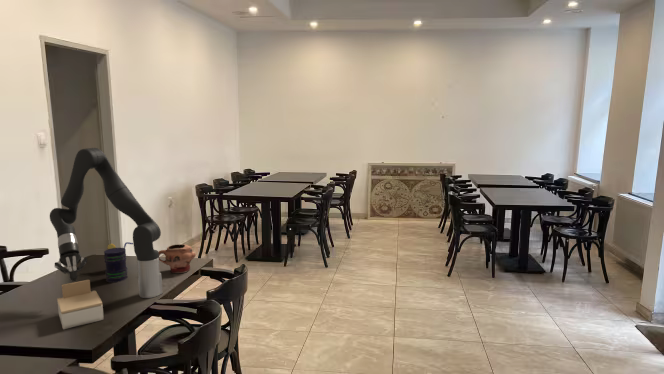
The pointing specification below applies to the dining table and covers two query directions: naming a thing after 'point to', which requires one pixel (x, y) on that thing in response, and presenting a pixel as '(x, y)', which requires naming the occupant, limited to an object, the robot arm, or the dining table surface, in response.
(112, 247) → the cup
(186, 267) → the decorative planter
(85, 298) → the lid
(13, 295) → the dining table surface
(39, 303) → the dining table surface
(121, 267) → the storage jar
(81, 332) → the dining table surface
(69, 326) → the base
